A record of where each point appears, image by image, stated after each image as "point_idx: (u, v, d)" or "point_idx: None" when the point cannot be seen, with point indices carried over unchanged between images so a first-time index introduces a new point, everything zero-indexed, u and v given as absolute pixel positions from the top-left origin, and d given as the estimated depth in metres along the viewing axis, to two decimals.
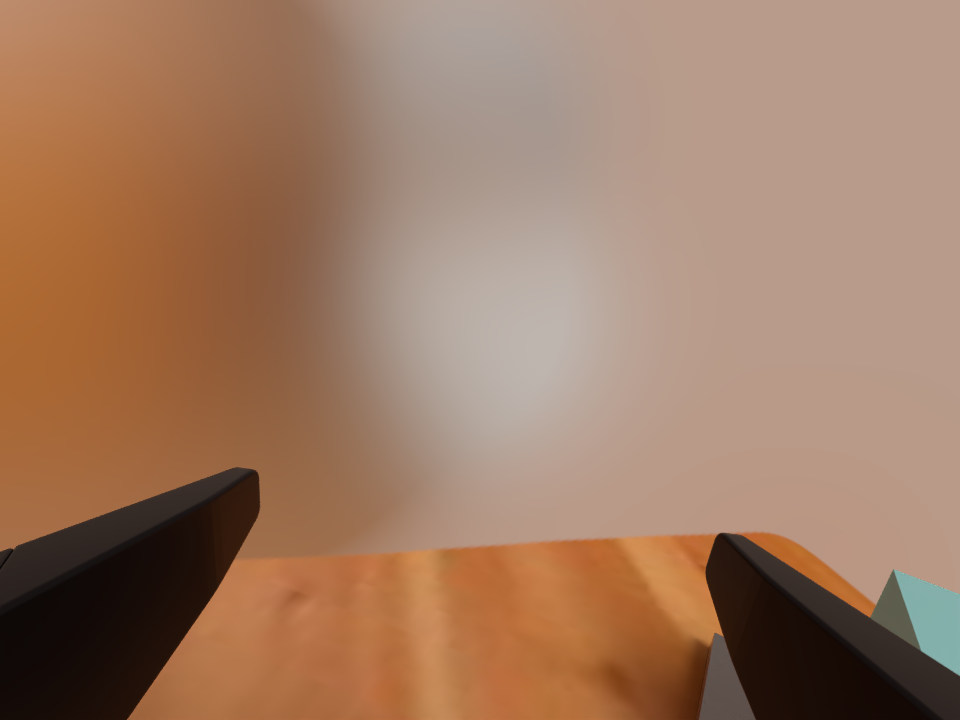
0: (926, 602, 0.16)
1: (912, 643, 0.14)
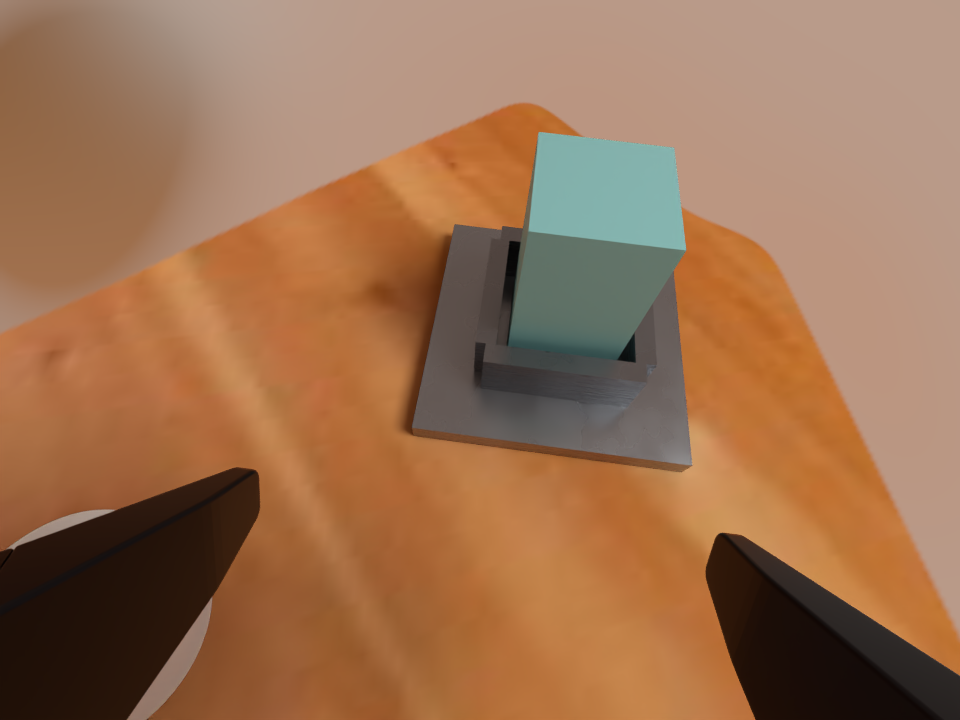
0: (553, 157, 0.18)
1: (531, 200, 0.17)
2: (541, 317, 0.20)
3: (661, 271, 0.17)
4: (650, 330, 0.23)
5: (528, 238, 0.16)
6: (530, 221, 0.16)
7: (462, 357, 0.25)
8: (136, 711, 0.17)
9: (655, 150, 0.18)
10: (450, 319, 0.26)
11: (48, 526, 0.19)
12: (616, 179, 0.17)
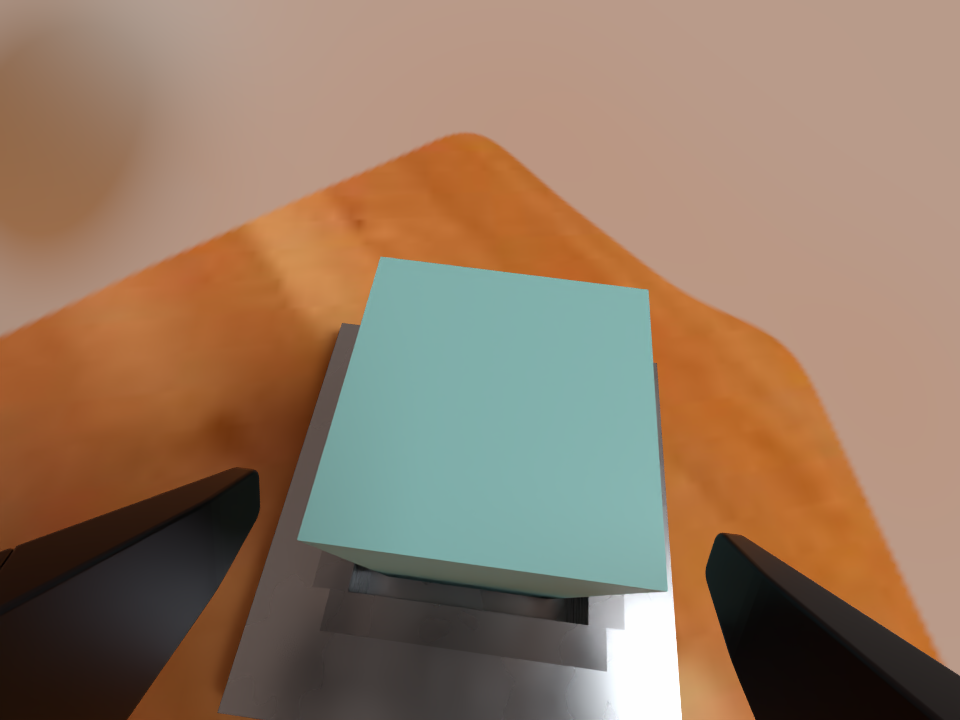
0: (398, 318, 0.09)
1: None
2: (412, 573, 0.11)
3: (615, 589, 0.08)
4: None
5: (306, 543, 0.07)
6: (309, 506, 0.07)
7: None
8: None
9: (609, 298, 0.09)
10: None
11: None
12: (522, 374, 0.08)
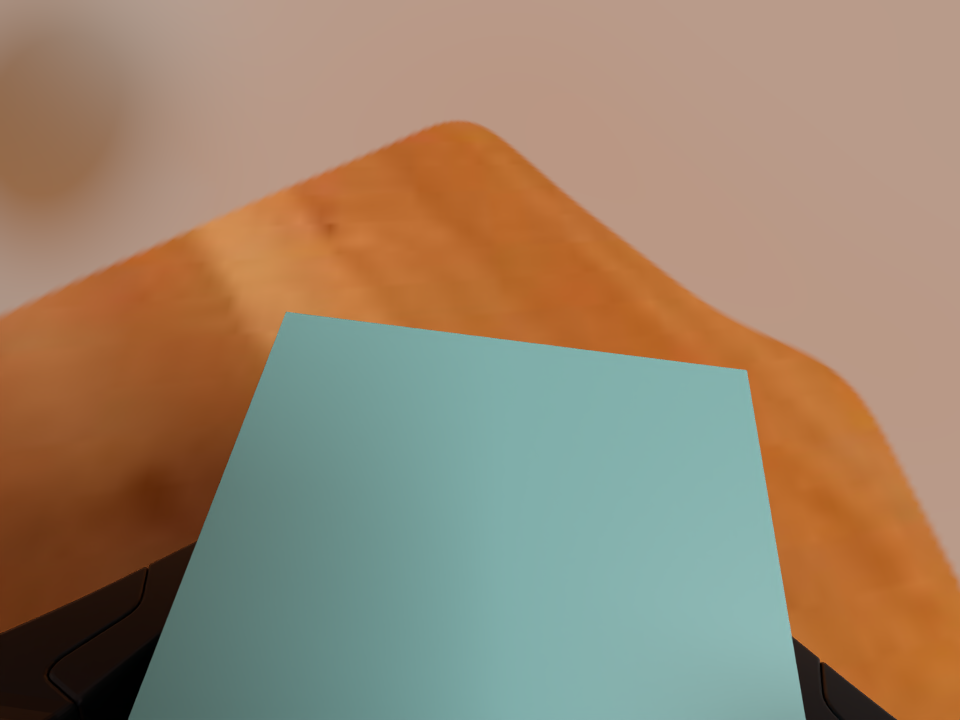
0: (305, 432, 0.05)
1: None
2: None
3: None
4: None
5: None
6: None
7: None
8: None
9: (682, 387, 0.05)
10: None
11: None
12: (531, 550, 0.04)
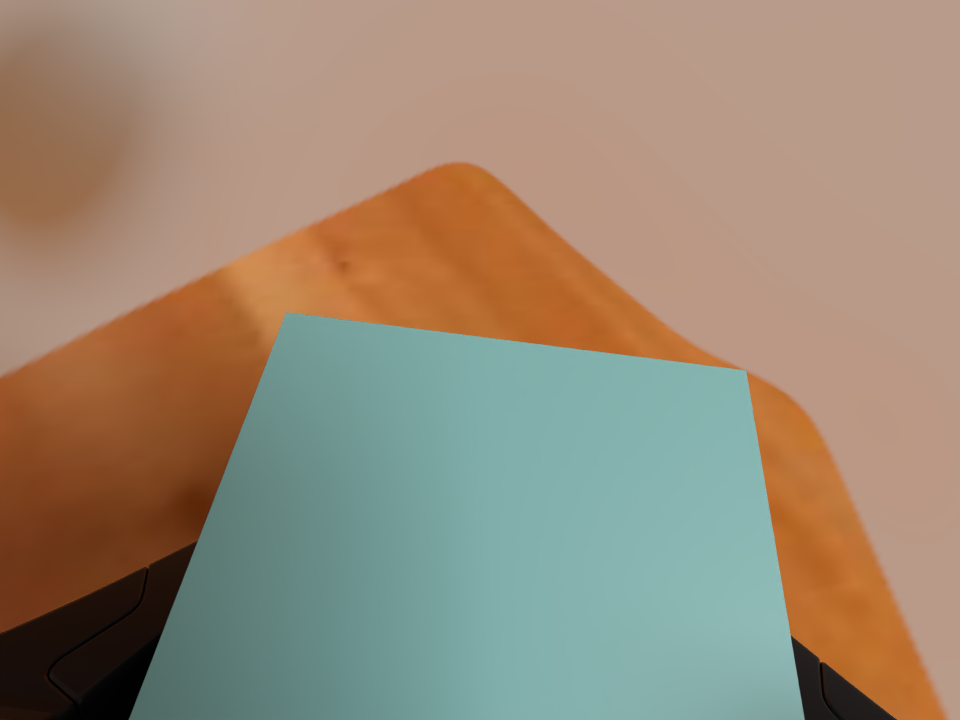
0: (305, 433, 0.05)
1: None
2: None
3: None
4: None
5: None
6: None
7: None
8: None
9: (680, 387, 0.05)
10: None
11: None
12: (531, 550, 0.04)
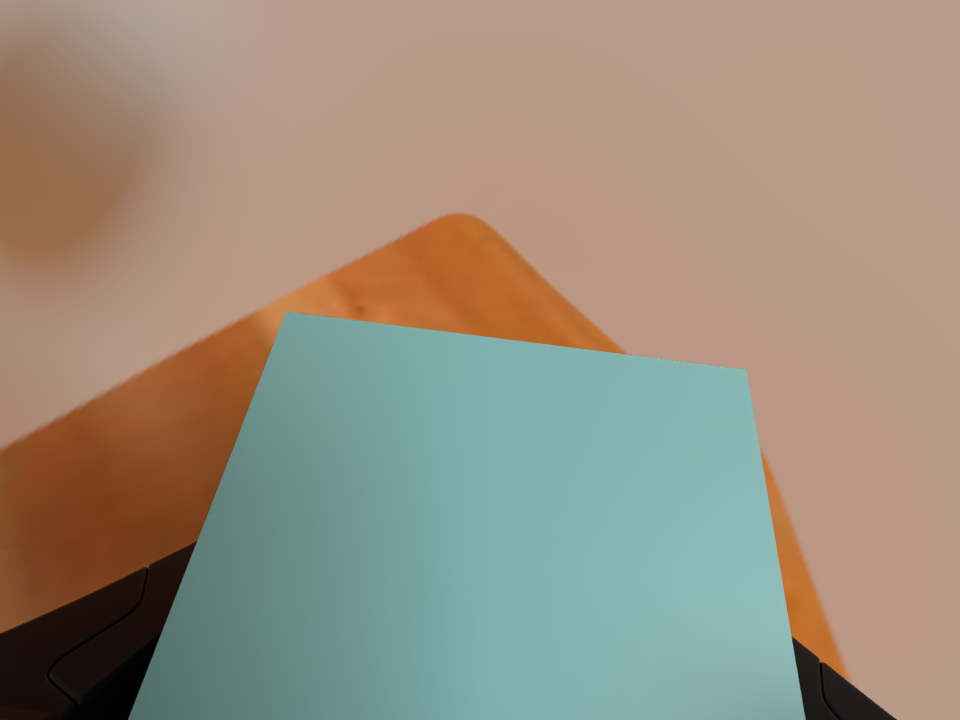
0: (305, 432, 0.05)
1: None
2: None
3: None
4: None
5: None
6: None
7: None
8: None
9: (682, 387, 0.05)
10: None
11: None
12: (531, 550, 0.04)
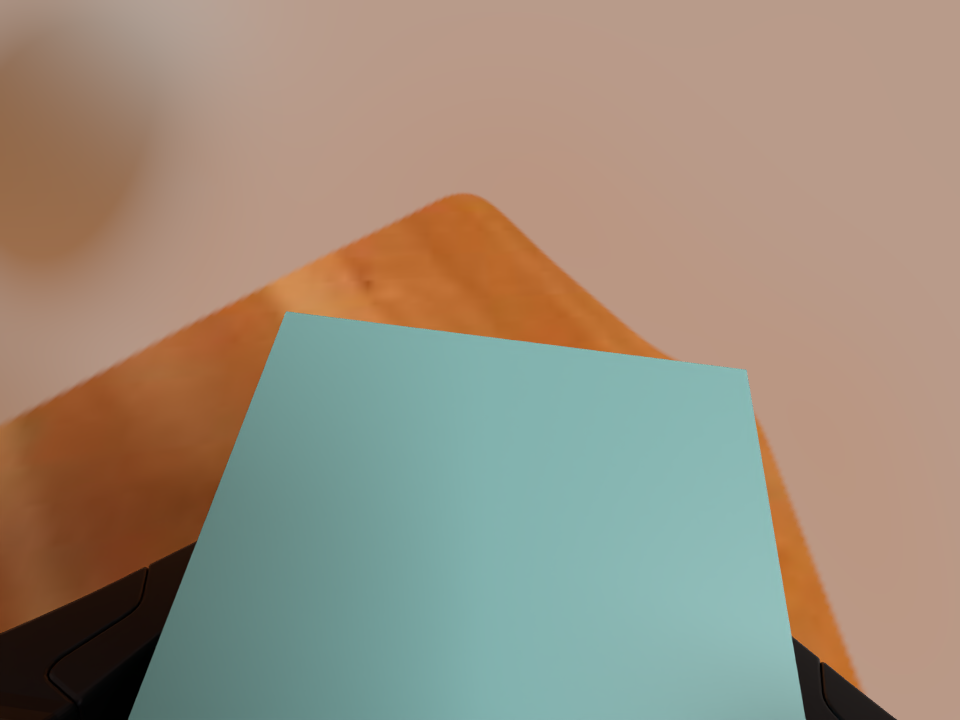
0: (305, 432, 0.05)
1: None
2: None
3: None
4: None
5: None
6: None
7: None
8: None
9: (681, 386, 0.05)
10: None
11: None
12: (531, 550, 0.04)
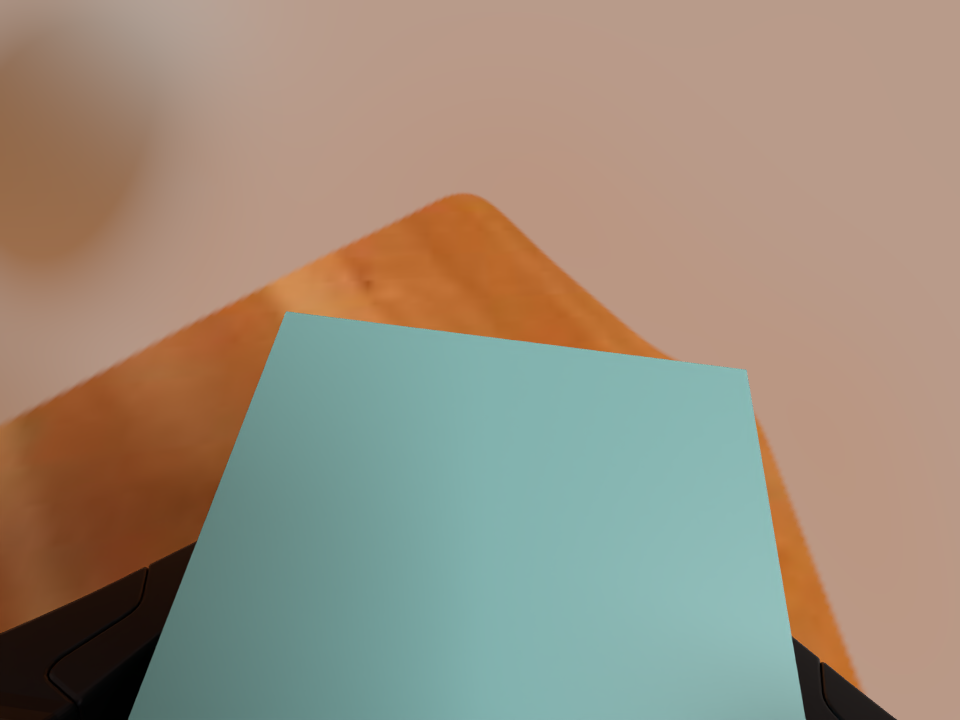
0: (305, 432, 0.05)
1: None
2: None
3: None
4: None
5: None
6: None
7: None
8: None
9: (681, 386, 0.05)
10: None
11: None
12: (531, 550, 0.04)
